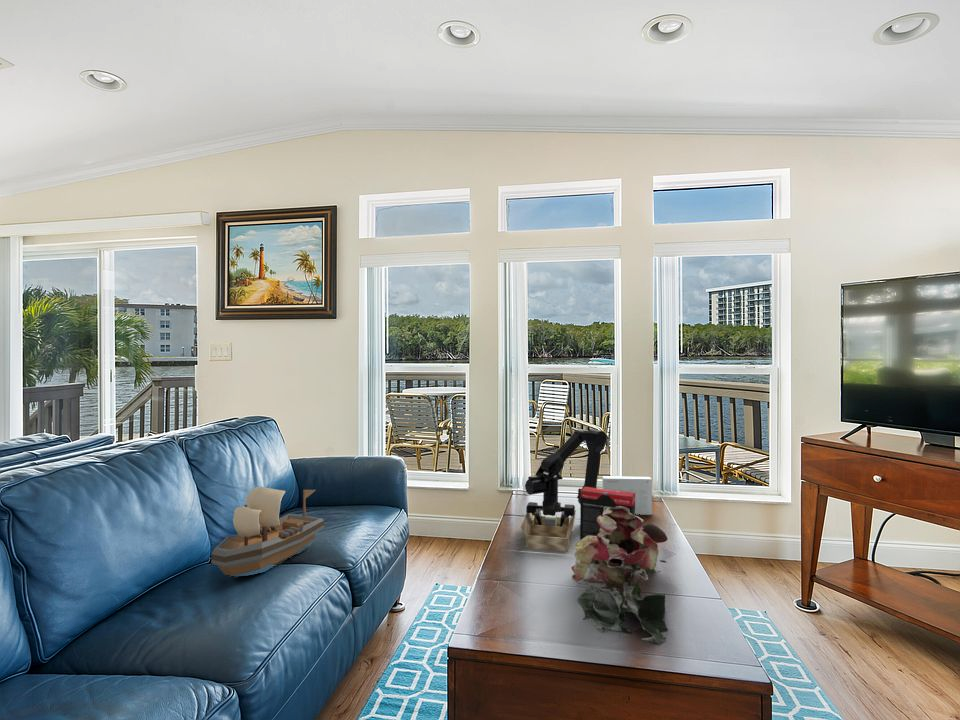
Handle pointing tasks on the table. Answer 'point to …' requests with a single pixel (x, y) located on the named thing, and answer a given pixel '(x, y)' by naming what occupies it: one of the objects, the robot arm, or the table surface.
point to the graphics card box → (601, 507)
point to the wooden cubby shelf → (547, 533)
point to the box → (551, 520)
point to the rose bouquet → (619, 574)
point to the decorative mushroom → (655, 534)
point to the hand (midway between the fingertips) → (550, 530)
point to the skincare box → (633, 490)
